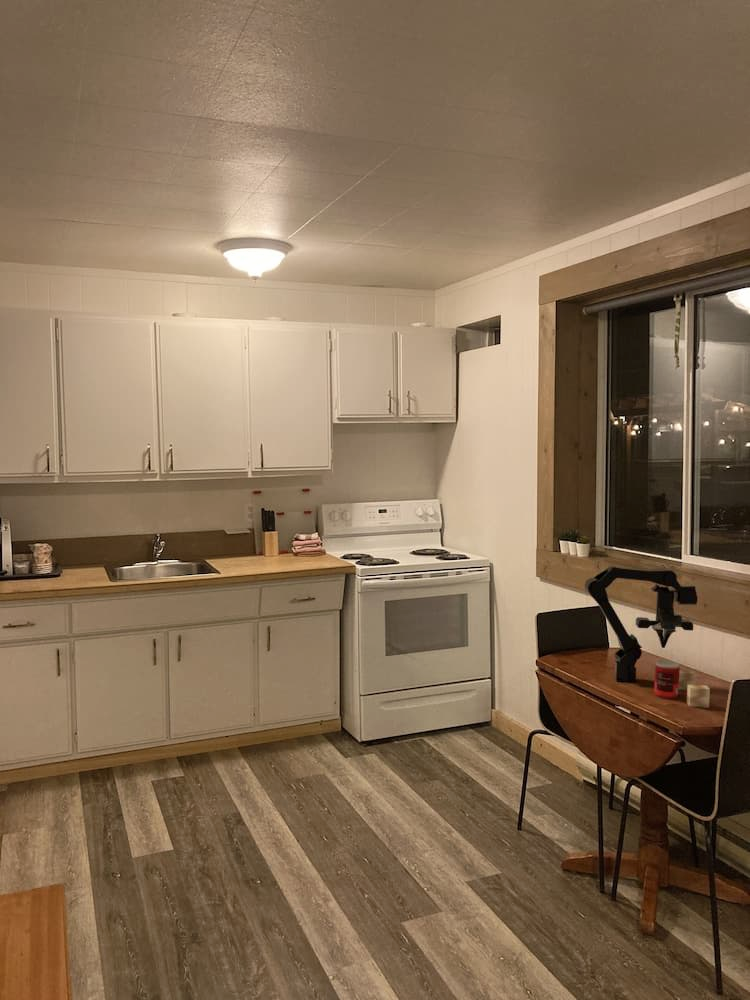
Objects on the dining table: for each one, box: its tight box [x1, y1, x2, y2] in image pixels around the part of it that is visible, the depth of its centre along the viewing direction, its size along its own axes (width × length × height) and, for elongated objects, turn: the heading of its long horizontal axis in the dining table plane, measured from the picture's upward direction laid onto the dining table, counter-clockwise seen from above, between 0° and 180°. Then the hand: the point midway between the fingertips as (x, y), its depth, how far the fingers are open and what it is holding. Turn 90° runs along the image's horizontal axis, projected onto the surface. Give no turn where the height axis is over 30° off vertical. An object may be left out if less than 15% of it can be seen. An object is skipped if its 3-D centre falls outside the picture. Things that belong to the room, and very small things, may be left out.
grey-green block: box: [679, 669, 697, 691], centre depth 289 cm, size 6×4×6 cm, turn 83°
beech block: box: [686, 684, 711, 708], centre depth 272 cm, size 6×4×6 cm, turn 83°
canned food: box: [653, 659, 681, 700], centre depth 281 cm, size 8×8×11 cm
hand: (663, 647), depth 297 cm, fingers closed
